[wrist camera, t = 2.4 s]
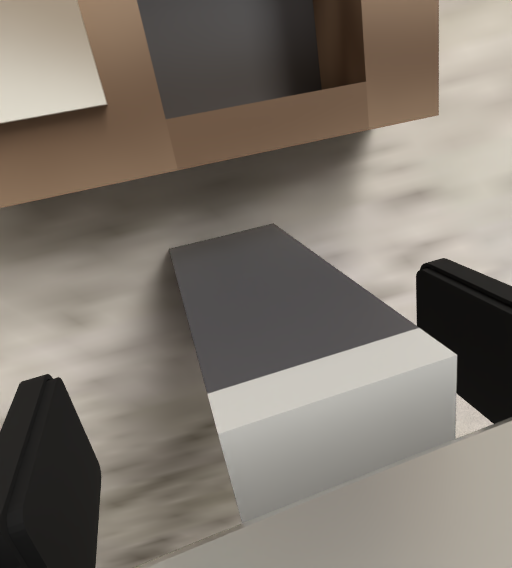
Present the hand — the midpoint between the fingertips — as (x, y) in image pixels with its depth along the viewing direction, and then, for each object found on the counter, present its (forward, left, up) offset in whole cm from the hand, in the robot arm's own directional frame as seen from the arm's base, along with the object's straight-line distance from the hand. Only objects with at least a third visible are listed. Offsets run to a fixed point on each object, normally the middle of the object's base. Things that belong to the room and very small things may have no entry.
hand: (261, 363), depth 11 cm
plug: (0, -1, -6) cm, 6 cm away
